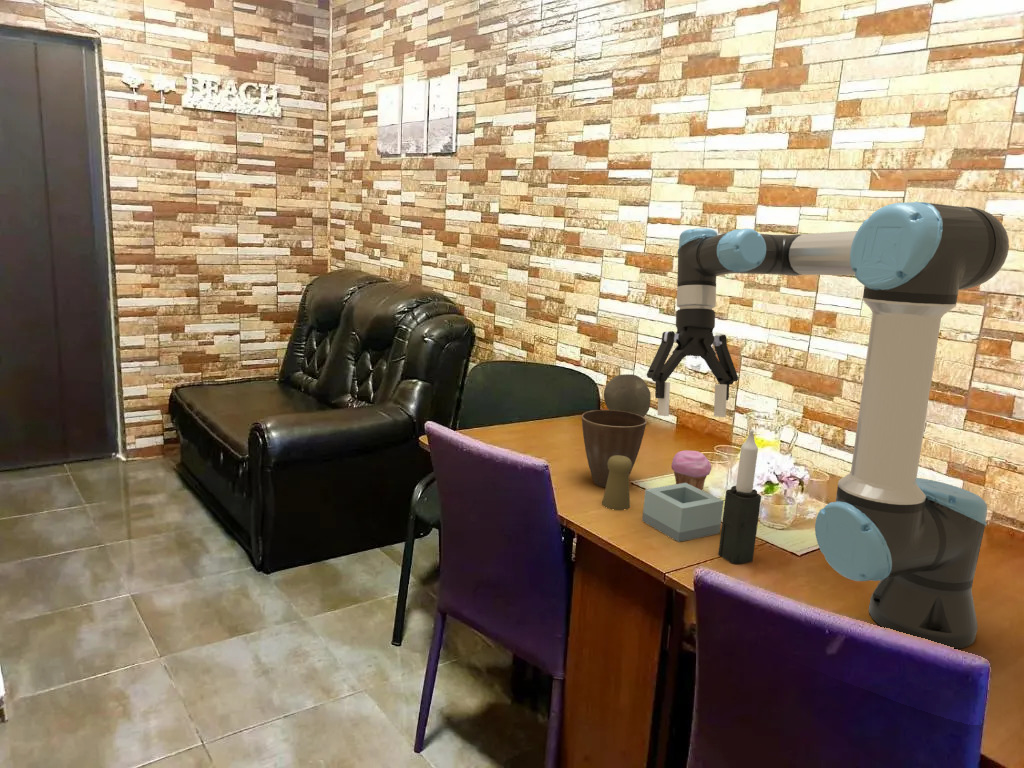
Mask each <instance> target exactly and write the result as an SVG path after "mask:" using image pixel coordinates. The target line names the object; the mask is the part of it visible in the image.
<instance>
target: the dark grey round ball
mask: <svg viewBox="0 0 1024 768" xmlns="http://www.w3.org/2000/svg"><path fill="white" fill-rule="evenodd" d="M651 395H652V394H651V391H650V388H649V387H648V385H647V383H646V381H644V379H643V378H642V377H640V376H638V375H637V374H628V373H627V374H624V373H623V374H619V375H616V376H614V377H612V378H611V379H610V380H609V381H608V382H607V384H606V385H605V387H604V391H603V399H604V404H605V406H606V408H607V410H616V411H624V412H630V413H634V414H637V415H640V416H642V417H644V418H645V417H646V415H647V414H648V412H649V409H650V408H651V398H652V397H651Z"/></svg>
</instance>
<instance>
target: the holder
mask: <svg viewBox="0 0 1024 768" xmlns="http://www.w3.org/2000/svg"><path fill="white" fill-rule="evenodd" d="M724 503H725V500H723V499H721V498H719V497H717V496H716V495H715V496H714V495H713V494H710V493H708V492H706V491H704V490H700V489H698V488H696V487H694V486H692V485H689V484H687V483H681V484H676V483H675V484H670V485H664V486H657V487H651V488H646V489H644V499H643V511H642V520H641V522H642V521H644V522H645V523H644V522H643V523H644V524H646V523H647V524H646V525H648V524H649V525H650V527H651V526H652V527H651V528H653V527H654V528H653V529H655V530H656V529H657V530H656V531H658V530H659V532H660V531H661V532H662V533H661V532H660V533H661V534H663V533H664V534H663V535H665V534H666V535H665V536H667V537H668V536H669V538H670V537H671V538H670V539H672V538H673V539H672V540H673V541H675V540H676V541H675V542H677V541H678V542H677V543H681V542H680V541H682V542H687V541H691V540H696V539H701V538H704V537H709V536H714V535H719V534H721V528H722V520H723V511H724ZM649 525H648V526H649ZM686 540H687V541H686Z"/></svg>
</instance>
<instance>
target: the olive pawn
mask: <svg viewBox="0 0 1024 768" xmlns="http://www.w3.org/2000/svg"><path fill="white" fill-rule="evenodd" d="M607 465H608V469H609V475H608V479H607V484H606V488H605V487H604V488H605V489H604V493H603V497H602V501H601V505H602V506H603V507H604V506H605V507H604V508H606V507H607V508H606V509H608V508H610V509H609V510H612V509H614V510H613V511H625V510H624V509H626V510H629V508H630V507H631V505H630V504H631V501H630V498H631V497H630V482H629V481H630V479H629V477H630V475H629V474H628V473H629V472H630V470H631V468H632V462H631V460H630V459H629V458H628V457H625V456H620V455H615V456H612V457H610V458H609V460H608V464H607ZM632 469H633V468H632Z"/></svg>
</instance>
